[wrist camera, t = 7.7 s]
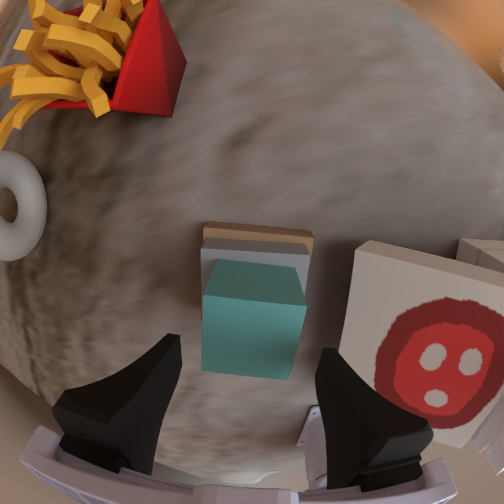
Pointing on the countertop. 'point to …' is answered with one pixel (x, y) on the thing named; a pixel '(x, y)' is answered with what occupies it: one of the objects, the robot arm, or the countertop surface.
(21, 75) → the french fries
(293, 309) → the teal cube
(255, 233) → the block
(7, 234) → the donut
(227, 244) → the tower top
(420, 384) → the stacked pizza boxes
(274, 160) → the countertop surface
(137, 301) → the countertop surface
